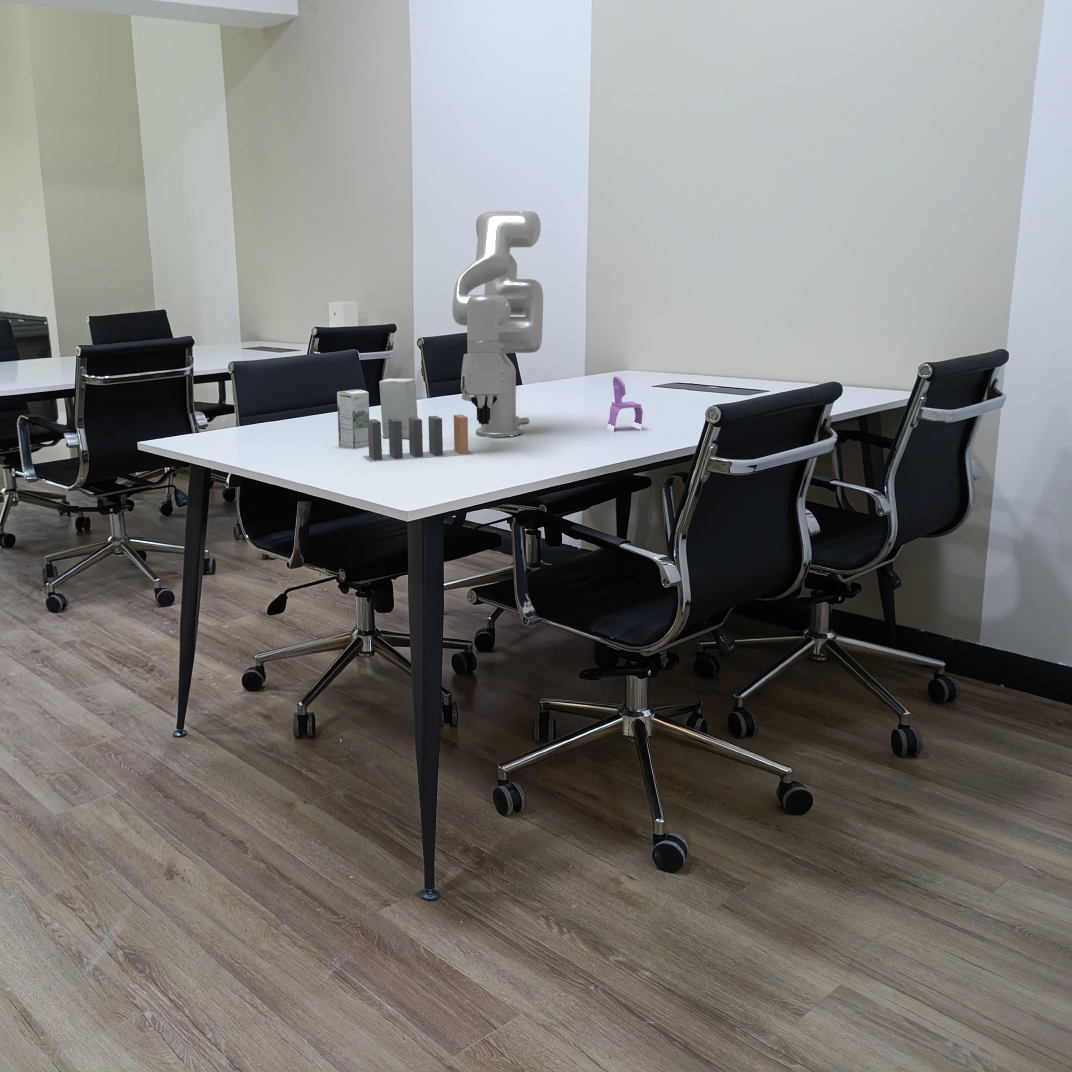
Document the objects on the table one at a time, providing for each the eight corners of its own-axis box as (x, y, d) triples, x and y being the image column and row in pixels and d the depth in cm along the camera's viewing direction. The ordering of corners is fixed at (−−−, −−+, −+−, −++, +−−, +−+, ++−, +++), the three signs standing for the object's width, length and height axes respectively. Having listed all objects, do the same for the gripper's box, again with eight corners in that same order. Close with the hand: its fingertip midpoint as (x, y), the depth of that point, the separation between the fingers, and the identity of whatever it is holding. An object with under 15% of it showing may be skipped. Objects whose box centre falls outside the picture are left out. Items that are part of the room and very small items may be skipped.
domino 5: (462, 450, 261) (461, 414, 259) (468, 453, 257) (467, 417, 255) (454, 450, 261) (453, 414, 258) (460, 454, 256) (459, 417, 254)
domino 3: (417, 453, 257) (416, 416, 255) (423, 456, 253) (421, 419, 251) (409, 453, 257) (408, 417, 254) (414, 457, 252) (413, 420, 250)
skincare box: (419, 435, 285) (417, 378, 281) (409, 439, 279) (408, 381, 275) (390, 434, 288) (388, 377, 284) (380, 438, 281) (378, 380, 277)
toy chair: (644, 431, 294) (645, 377, 290) (614, 432, 291) (615, 378, 287) (633, 426, 301) (634, 374, 297) (604, 427, 299) (605, 375, 295)
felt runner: (465, 450, 263) (465, 449, 263) (475, 456, 256) (475, 454, 256) (362, 457, 254) (362, 455, 254) (370, 463, 247) (370, 461, 247)
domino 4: (437, 452, 259) (436, 415, 257) (442, 455, 255) (442, 418, 252) (429, 452, 259) (428, 416, 256) (434, 456, 254) (434, 419, 252)
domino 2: (397, 454, 256) (396, 418, 253) (402, 458, 251) (401, 420, 249) (389, 455, 255) (388, 418, 253) (394, 458, 250) (393, 421, 248)
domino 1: (377, 456, 254) (375, 419, 252) (382, 459, 249) (380, 422, 247) (369, 456, 253) (367, 419, 251) (373, 460, 249) (372, 422, 246)
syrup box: (355, 444, 272) (353, 388, 268) (371, 447, 268) (368, 390, 264) (338, 447, 267) (335, 390, 264) (354, 450, 264) (351, 392, 260)
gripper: (506, 346, 260) (506, 420, 265) (448, 348, 255) (450, 423, 259) (517, 348, 254) (517, 424, 258) (458, 349, 248) (459, 427, 253)
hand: (483, 423), depth 259 cm, fingers closed
